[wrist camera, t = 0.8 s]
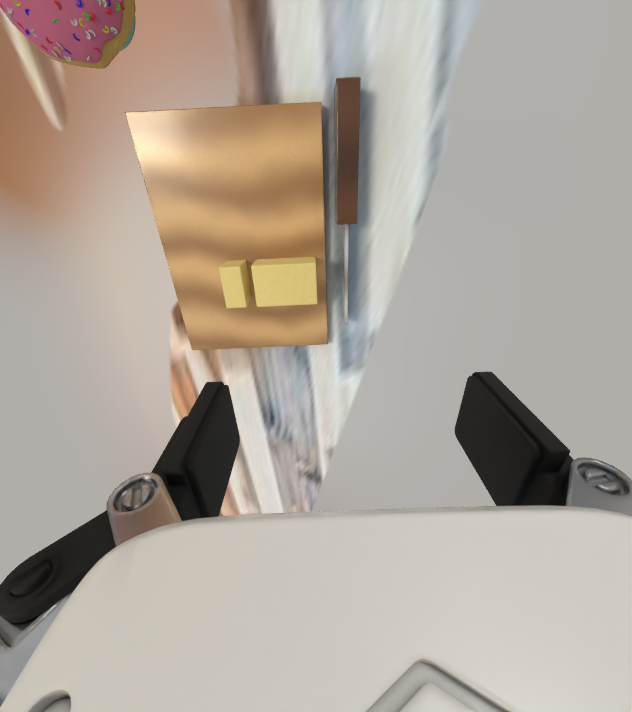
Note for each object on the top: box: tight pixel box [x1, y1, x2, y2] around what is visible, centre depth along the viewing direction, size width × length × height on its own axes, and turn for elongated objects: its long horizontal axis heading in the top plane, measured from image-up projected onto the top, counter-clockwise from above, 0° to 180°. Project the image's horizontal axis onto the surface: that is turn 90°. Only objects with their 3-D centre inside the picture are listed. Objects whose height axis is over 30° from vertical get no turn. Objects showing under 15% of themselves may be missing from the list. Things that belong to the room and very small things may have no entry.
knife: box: [334, 77, 360, 325], centre depth 28 cm, size 20×2×3 cm, turn 2°
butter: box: [251, 257, 317, 307], centre depth 29 cm, size 4×6×3 cm, turn 92°
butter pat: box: [219, 260, 252, 308], centre depth 29 cm, size 4×2×3 cm, turn 3°
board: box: [125, 102, 328, 350], centre depth 30 cm, size 22×16×1 cm
